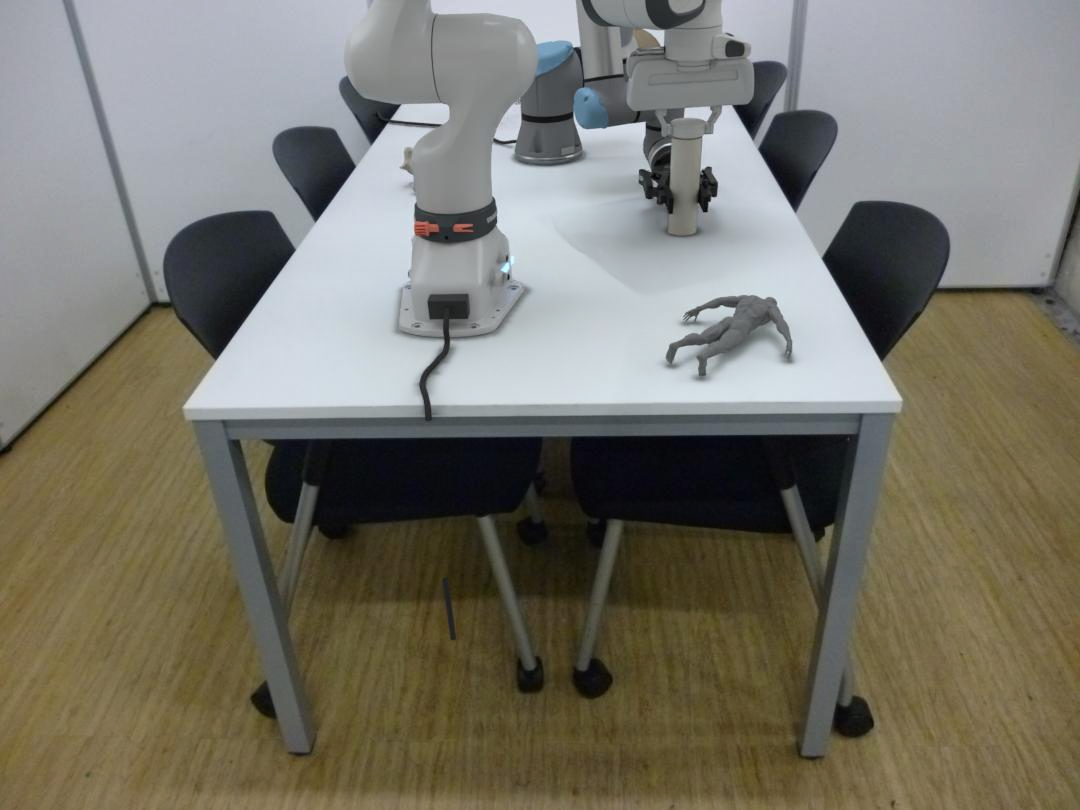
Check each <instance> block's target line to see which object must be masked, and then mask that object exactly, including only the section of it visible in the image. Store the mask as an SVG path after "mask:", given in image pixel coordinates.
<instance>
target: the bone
mask: <svg viewBox="0 0 1080 810" xmlns="http://www.w3.org/2000/svg"><path fill="white" fill-rule="evenodd" d="M413 149H414V147H411V146H406V147H405V148H404V150H403V155H404V156H403V157H404V161H403V163H402V165H400V166H399V169H400V170H403V171H406V172H407V173H408V174H410V175H412V176H413V169H412V161H411V157H412V151H413ZM412 189H413V192H414V193H415V186H413V188H412Z"/></svg>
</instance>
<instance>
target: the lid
mask: <svg viewBox="0 0 1080 810" xmlns="http://www.w3.org/2000/svg"><path fill="white" fill-rule="evenodd" d="M705 121H706V120H704V119H702V118H699V117H684V118H678V119H674V120H672V121H671V125H672V126H673V130H672V136H674V137H677V138H697V137H701V136H704V134H705ZM705 135H706V134H705Z"/></svg>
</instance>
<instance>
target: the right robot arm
mask: <svg viewBox="0 0 1080 810" xmlns="http://www.w3.org/2000/svg"><path fill="white" fill-rule="evenodd" d="M575 7H576V15H577V16H576V17H577V25H578V34H579V44H580V46H575V47H574V46H573V43H572V42H571V41H568V40H555V41H552V40H550V41H544V42H541V43H536V45H537V50H538V68H537V73H536V76H535V79H534V81H533V83H532V85H531V86H530V88H529V89H528V90H527V92H526V93H525V94H524V95H523V96H522V97H520V98H519V100H520V116H521V117H520V120H521V121H520V125H519V130H518V134H517V138H516V139H511V140H500V139H497V138H495V137H494V140H493V143H496V144H499V145H512V144H515V146H514V158H515V160H517V161H519V162H520V163H524V164H527V165H535V166H554V165H562V164H567V163H571V162H575V161H577V160H579V159H580V158H582V157H583V154H584V153H583V144H582V140H581V138H580V133H579V131H578V128H577V125H576V123H577V124H578V125H579V127H581V128H582V129H583V130H597V129H603V130H604V129H605V130H606V129H607V128H611V127H618V126H622V125H630V124H632V125H633V124H639V123H644V124H645V125H644V126H645V132H644V133H645V135H644V138H643V142H642V151H643V154H644V158H645V160H646V161H647V163H648V166H649V169H650V170H647V169H645V168H639V169H638V185H640V186H642V189H643V192H644V197H645V199H646V200H648V201H649V200H650V201H651V200H653V198H656V205H664V207H665V209H666V211H667V215H668V214H673V204H674V197H673V195H672V193H671V190H670V188H669V187H670V164H671V141H672V137H663V136H662V134H661V130H662V125H661V123H660V121H659V119H658V118H657V116H656V114H655V110H646V111H633V110H632V109H631V108H630V107H629V106H628V104H627V101H626V97H627V86H628V79H629V77H628V75H627V73H626V61H627V58H628V56H629V55H630V54H631V53H632V52H634V51H636V49H637V48H639V47H638V45H637V41H636V39H635V38H634V36H633V34H634V30H635V28H631V27H623V26H622V27H603V26H599V25H597V24H595V23H594V22H593V21H592V20H591V19H590V18H589V17H588V15H587V14H586V12H585V10H584V7H583V4H582V0H575ZM632 56H637V55H636V54H634V55H632ZM685 110H686V108H678V109H667V114H666V116H663V118H664V120H665V122H666V123H667V124H671V121H672V120H674V119H678V118H685ZM375 116H378V118H379V119H380V121H382V122H385V123H389V124H399V125H407V126H410V125H411V126H421V127H423V126H424V127H434V128H437V127H439V126H441V125H443V124H444V123H443V124H442V123H431V122H430V123H429V122H418V121H404V120H397V119H396V120H395V119H389V118H384V116H382V114H381V111H380V110H376V112H375ZM575 120H576V121H575ZM654 182H655V183H656V186H654ZM718 189H719V181H718V180H717V178H716V177H715V175H714V174H713V167H712V166H709V165H708V166H705V167H704V168H702V169H701V170H700V185H699V201H698V206H699V207H700V210H701V212H702V213H704V214H705V213H707V214H708V212H709V203H711V202H712V198H717V197H718V192H719V191H718Z"/></svg>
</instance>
